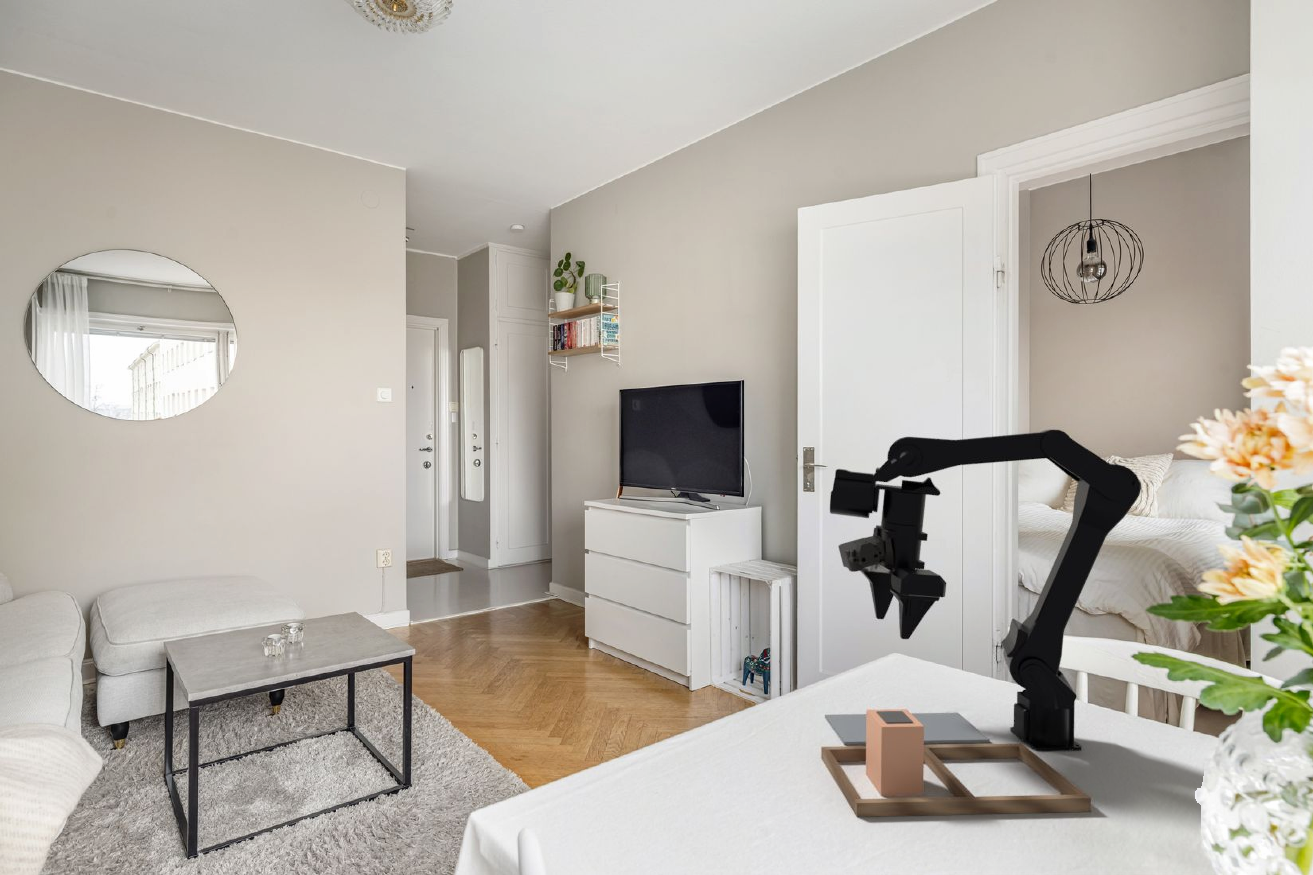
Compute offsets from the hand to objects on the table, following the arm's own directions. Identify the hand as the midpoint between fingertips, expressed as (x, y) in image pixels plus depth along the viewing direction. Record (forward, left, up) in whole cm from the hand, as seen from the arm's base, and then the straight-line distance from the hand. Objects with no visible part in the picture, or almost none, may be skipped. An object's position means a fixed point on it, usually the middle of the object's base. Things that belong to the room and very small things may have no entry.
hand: (891, 628), depth 103 cm
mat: (0, +4, -13) cm, 14 cm away
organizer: (+1, +19, -13) cm, 23 cm away
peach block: (+7, +19, -13) cm, 24 cm away
